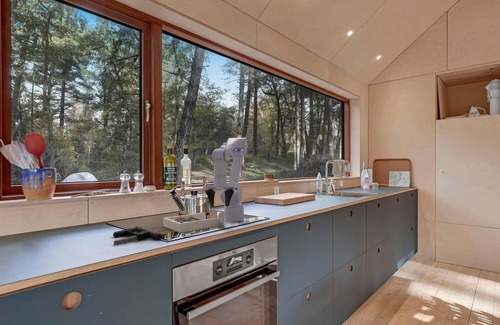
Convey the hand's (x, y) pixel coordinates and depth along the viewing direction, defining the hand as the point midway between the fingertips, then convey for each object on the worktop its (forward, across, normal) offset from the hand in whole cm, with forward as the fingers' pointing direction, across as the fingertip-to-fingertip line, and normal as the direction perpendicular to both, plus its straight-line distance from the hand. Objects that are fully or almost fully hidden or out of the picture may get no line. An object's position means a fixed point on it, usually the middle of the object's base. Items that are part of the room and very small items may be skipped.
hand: (219, 206), depth 127 cm
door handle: (+12, -35, +5) cm, 37 cm away
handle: (+10, +1, 0) cm, 10 cm away
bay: (+10, -8, +11) cm, 16 cm away
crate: (+9, -11, +11) cm, 18 cm away
